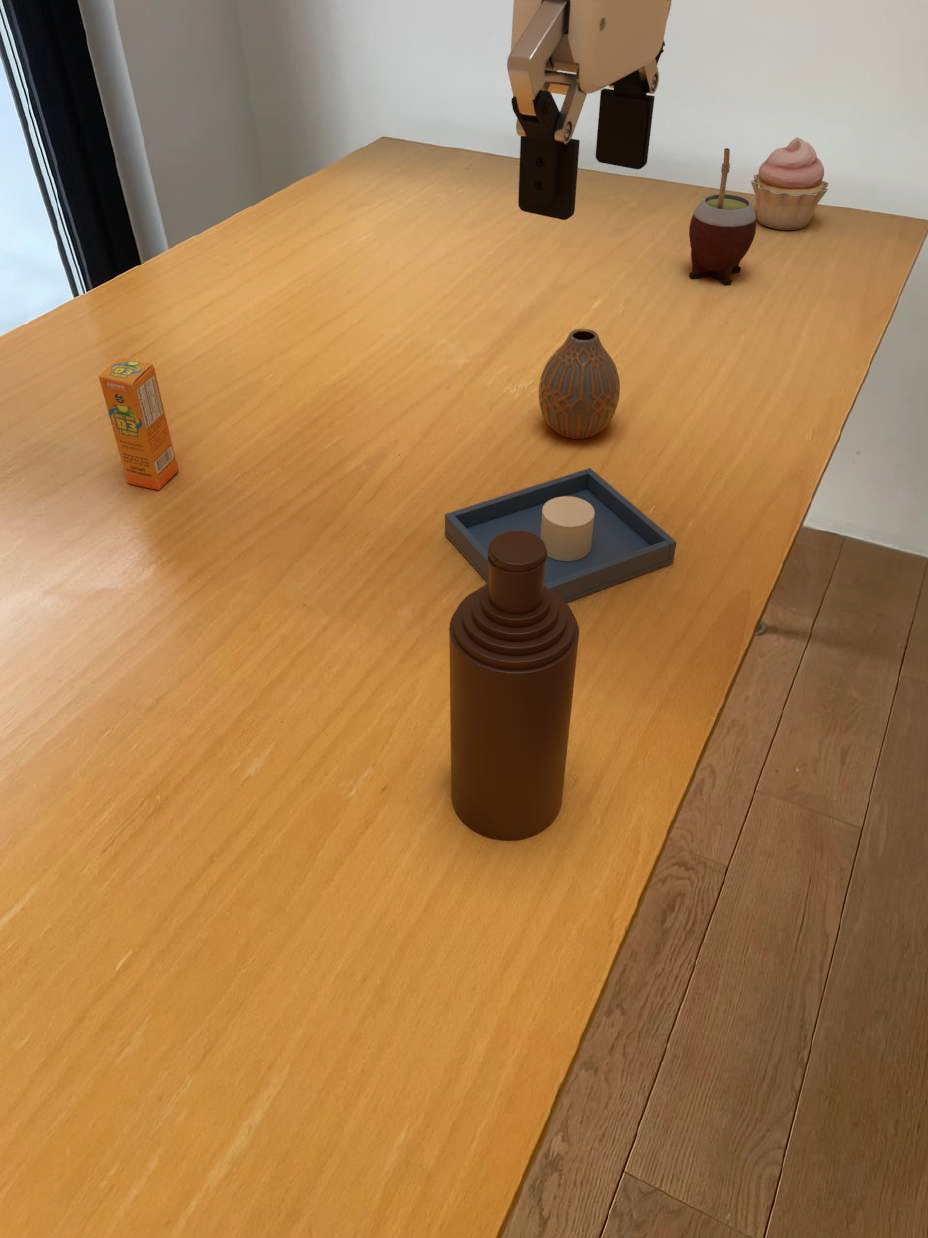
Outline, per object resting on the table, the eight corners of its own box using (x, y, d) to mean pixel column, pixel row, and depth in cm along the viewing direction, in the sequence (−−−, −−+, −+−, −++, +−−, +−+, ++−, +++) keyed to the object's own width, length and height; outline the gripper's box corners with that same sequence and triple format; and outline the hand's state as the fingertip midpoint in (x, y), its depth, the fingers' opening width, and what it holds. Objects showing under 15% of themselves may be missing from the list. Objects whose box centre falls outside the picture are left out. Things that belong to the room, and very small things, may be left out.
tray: (588, 488, 82) (590, 467, 81) (673, 563, 75) (677, 541, 73) (444, 535, 77) (444, 513, 76) (520, 620, 70) (521, 598, 68)
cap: (555, 524, 77) (557, 490, 75) (599, 540, 76) (603, 505, 74) (530, 551, 75) (532, 515, 73) (576, 567, 73) (580, 532, 71)
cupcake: (728, 215, 128) (742, 130, 121) (787, 204, 131) (805, 121, 124) (774, 240, 121) (792, 153, 115) (836, 228, 124) (857, 142, 118)
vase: (631, 432, 88) (643, 339, 82) (570, 456, 85) (577, 361, 80) (581, 400, 93) (589, 309, 87) (521, 422, 90) (525, 329, 84)
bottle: (522, 738, 62) (536, 492, 50) (584, 810, 57) (615, 561, 46) (431, 779, 59) (423, 532, 47) (488, 858, 55) (496, 609, 43)
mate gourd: (726, 258, 117) (751, 119, 107) (762, 285, 112) (791, 141, 102) (668, 266, 116) (688, 126, 106) (702, 294, 110) (726, 148, 100)
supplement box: (123, 485, 82) (93, 373, 75) (147, 463, 85) (120, 353, 78) (158, 493, 81) (131, 381, 75) (181, 471, 84) (157, 360, 77)
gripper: (618, -202, 54) (591, 138, 65) (448, -184, 43) (451, 222, 54) (754, -197, 51) (701, 158, 63) (609, -177, 40) (576, 250, 51)
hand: (585, 187), depth 58 cm, fingers open, 9 cm apart
